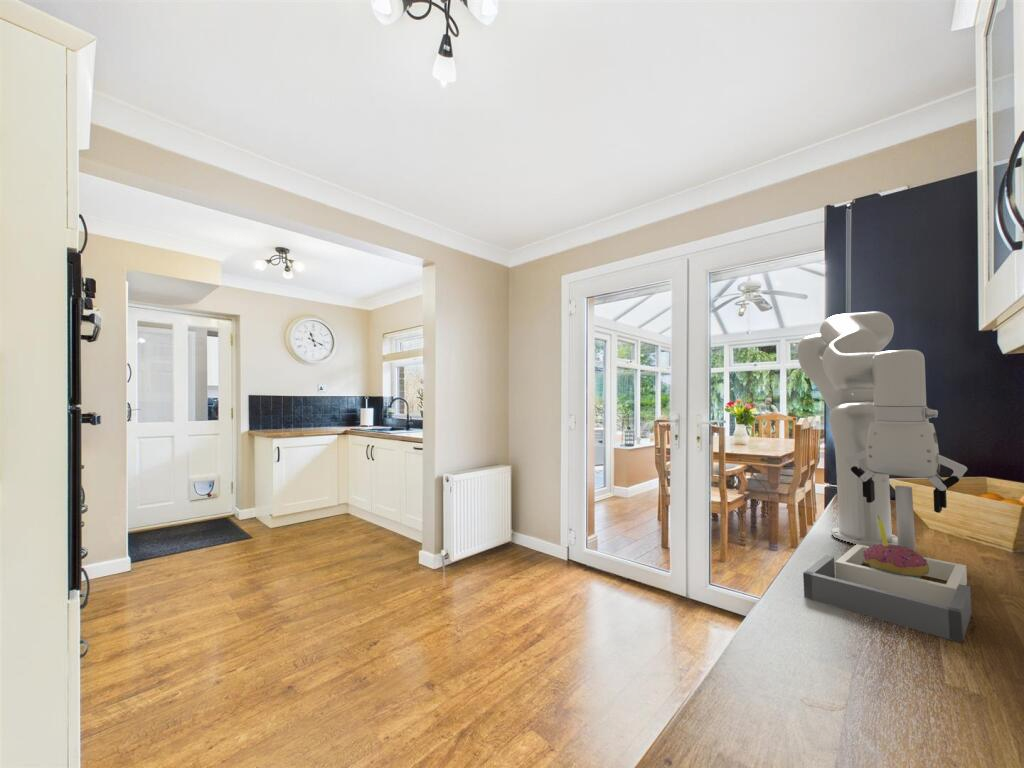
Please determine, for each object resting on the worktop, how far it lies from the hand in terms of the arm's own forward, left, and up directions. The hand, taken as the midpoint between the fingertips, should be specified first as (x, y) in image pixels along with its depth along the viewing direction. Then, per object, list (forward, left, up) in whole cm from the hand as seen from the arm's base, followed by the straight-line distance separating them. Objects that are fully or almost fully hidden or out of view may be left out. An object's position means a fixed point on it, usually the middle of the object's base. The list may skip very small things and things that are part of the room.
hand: (902, 506), depth 83 cm
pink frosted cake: (+10, 0, -13) cm, 16 cm away
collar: (+7, 0, -12) cm, 14 cm away
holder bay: (+20, 0, -12) cm, 23 cm away
